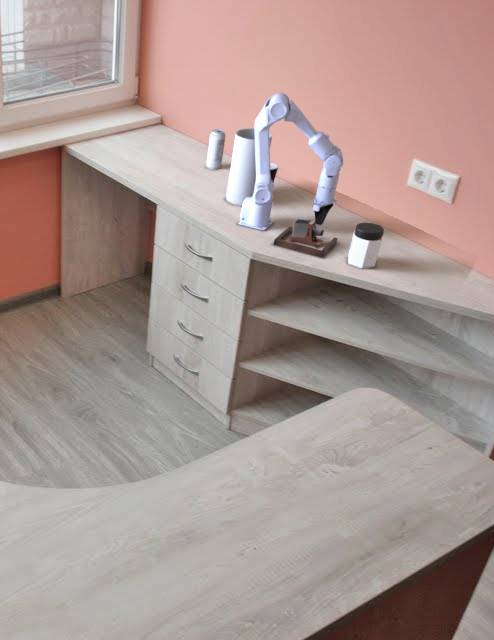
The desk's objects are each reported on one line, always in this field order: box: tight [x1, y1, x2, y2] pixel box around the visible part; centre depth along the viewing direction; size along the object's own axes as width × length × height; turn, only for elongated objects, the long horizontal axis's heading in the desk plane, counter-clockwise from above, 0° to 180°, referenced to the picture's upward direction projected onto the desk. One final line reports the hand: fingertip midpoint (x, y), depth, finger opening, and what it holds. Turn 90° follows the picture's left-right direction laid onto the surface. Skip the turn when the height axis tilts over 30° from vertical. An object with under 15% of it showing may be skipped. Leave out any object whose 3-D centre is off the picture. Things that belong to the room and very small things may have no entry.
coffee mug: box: [270, 161, 279, 184], centre depth 302 cm, size 12×9×10 cm
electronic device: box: [290, 218, 325, 249], centre depth 264 cm, size 4×10×8 cm, turn 53°
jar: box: [347, 222, 385, 269], centre depth 250 cm, size 9×8×12 cm
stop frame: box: [273, 225, 338, 259], centre depth 264 cm, size 16×13×2 cm
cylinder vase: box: [225, 128, 273, 207], centre depth 289 cm, size 12×12×25 cm
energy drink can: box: [205, 128, 226, 171], centre depth 321 cm, size 6×6×15 cm
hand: (318, 224), depth 272 cm, fingers closed
